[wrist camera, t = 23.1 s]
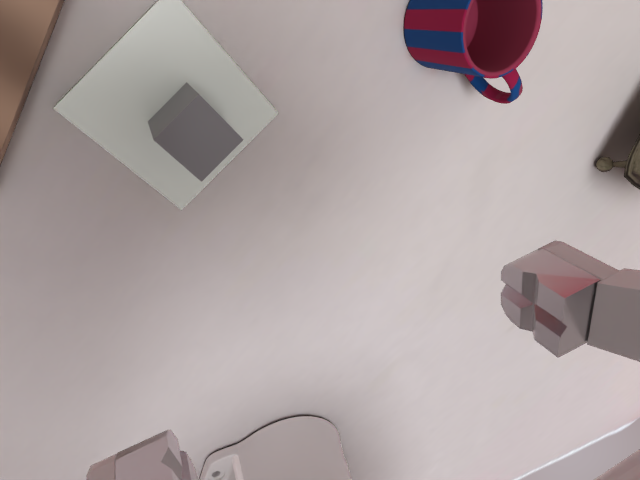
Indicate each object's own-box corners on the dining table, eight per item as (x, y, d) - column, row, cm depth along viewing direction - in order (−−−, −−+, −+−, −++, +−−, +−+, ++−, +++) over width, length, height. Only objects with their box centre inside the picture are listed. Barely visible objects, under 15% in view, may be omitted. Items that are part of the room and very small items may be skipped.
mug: (462, -46, 33) (534, -58, 27) (491, 75, 38) (555, 86, 33) (390, 2, 32) (449, 0, 27) (430, 118, 38) (486, 137, 32)
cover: (179, 204, 33) (191, 240, 28) (55, 105, 27) (41, 126, 22) (274, 110, 33) (303, 128, 28) (168, -11, 27) (181, -17, 22)
